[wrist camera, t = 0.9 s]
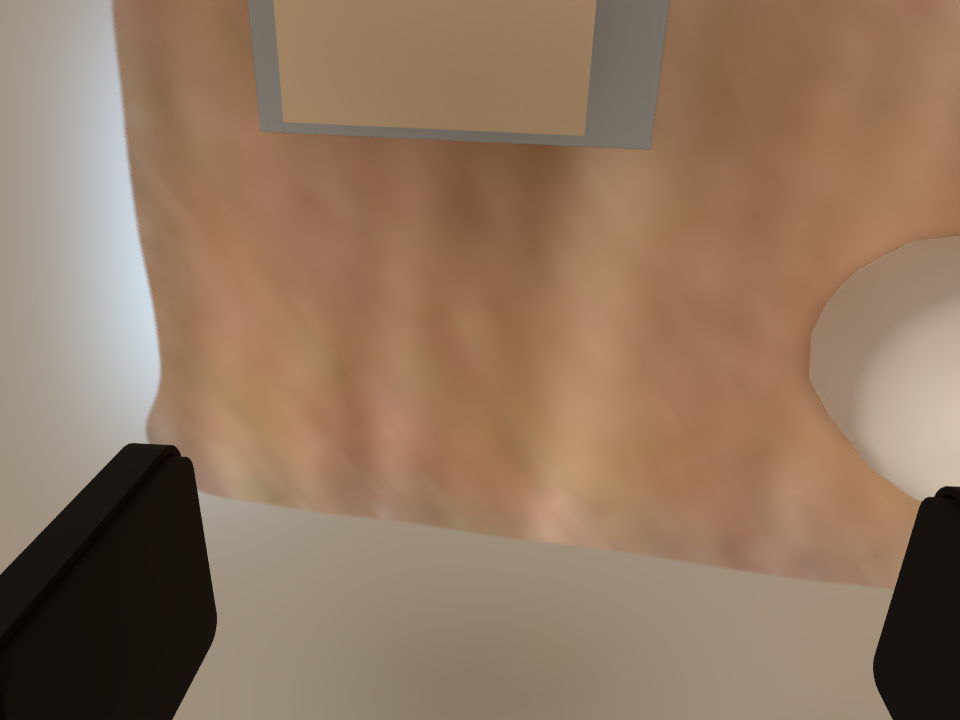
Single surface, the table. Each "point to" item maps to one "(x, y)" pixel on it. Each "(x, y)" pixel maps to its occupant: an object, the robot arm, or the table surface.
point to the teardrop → (896, 364)
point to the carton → (437, 63)
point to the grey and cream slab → (609, 124)
